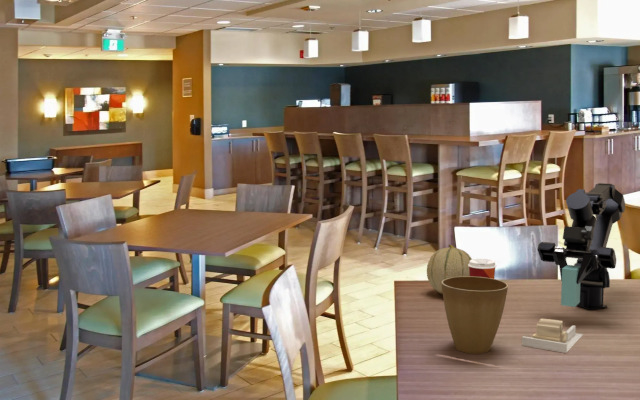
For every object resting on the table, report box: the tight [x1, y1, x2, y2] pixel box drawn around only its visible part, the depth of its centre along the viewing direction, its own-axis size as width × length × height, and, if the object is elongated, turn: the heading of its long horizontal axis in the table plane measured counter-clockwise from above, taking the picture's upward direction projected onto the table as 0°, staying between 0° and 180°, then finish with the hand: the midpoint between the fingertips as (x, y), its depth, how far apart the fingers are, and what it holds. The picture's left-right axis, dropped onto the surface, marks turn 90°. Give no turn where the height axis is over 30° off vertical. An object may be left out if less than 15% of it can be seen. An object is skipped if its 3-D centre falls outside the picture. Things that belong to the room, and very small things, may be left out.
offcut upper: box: [535, 318, 564, 338], centre depth 164 cm, size 6×5×2 cm
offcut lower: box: [531, 330, 567, 343], centre depth 164 cm, size 7×6×2 cm
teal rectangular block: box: [560, 264, 581, 308], centre depth 178 cm, size 5×3×10 cm
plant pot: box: [442, 276, 509, 355], centre depth 161 cm, size 15×15×16 cm
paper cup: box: [468, 258, 497, 279], centre depth 194 cm, size 8×8×14 cm
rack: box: [521, 325, 584, 354], centre depth 167 cm, size 16×10×3 cm, turn 146°
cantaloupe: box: [426, 244, 473, 295], centre depth 211 cm, size 15×15×15 cm
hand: (569, 282), depth 177 cm, fingers closed on teal rectangular block, 3 cm apart
